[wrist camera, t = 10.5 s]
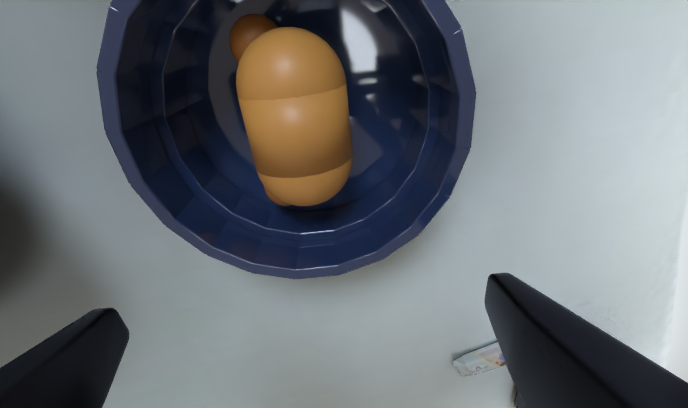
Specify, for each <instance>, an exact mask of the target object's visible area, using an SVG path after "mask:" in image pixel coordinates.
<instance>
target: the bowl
mask: <svg viewBox="0 0 688 408" xmlns="http://www.w3.org/2000/svg"><path fill="white" fill-rule="evenodd" d="M247 14H260V15H263V16H266V17H267V18H269V19H270V20H272V21H273V22H274V23H275V24H276V25H277V27H278V28H280V27H296V28H301V29H305V30H307V31H310V32H312V33H314V34H316V35H318V36H319V37H320V38H322V39H323V40H324V41H326V42H327V43H328V45H329V46H330V47H331V48H332V49H333V50H334V51H335V53H336V55H337V56H338V58H339V59H340V61H341V64H342V67H343V69H344V72H345V78H346V84H347V95H348V106H349V117H350V129H351V140H352V151H353V162H352V168H351V172H350V175H349V177H348V179H347V182H346V183H345V185H344V186H343V187H342V189H341V190H340V191H339V192H338V193H337V194H336V195H335V196H333V197H332V198H331V199H329V200H327V201H325V202H323V203H320V204H317V205H312V206H296V205H290V206H282V205H278V204H276V203H274V202H273V201H272V200H271V199H270V198H269V197H268V196H267V194H266V192H265V189H264V185H263V184H262V182H261V180H260V179H259V176H258V174H257V171H256V168H255V164H254V160H253V156H252V152H251V148H250V144H249V140H248V136H247V132H246V128H245V124H244V120H243V116H242V112H241V108H240V104H239V100H238V95H237V88H236V73H237V69H238V65H239V63H238V62H237V61H236V60H235V58H234V56H233V55H232V52H231V49H230V45H229V35H230V31H231V28H232V26H233V25H234V23H235V22H236V21H237V20H238V19H239V18H240V17H242V16H244V15H247ZM460 28H461V26H460V24H459V22H458V21H457V19H456V18H455V16H454V14H453V13H452V11H451V9H450V8H449V6H448V5H447V3H446V1H445V0H112V1H111V3H110V6H109V10H108V15H107V20H106V25H105V29H104V34H103V39H102V44H101V49H100V54H99V59H98V64H97V79H98V86H99V93H100V100H101V107H102V114H103V121H104V129H105V131H106V135H107V137H108V139H109V141H110V143H111V146H112V148H113V150H114V152H115V154H116V156H117V158H118V160H119V163H120V165H121V167H122V169H123V171H124V173H125V175H126V178H127V180H128V182H129V183H130V184H131V186H132V188H133V189H134V190H135V191H136V192H137V194H138V195H139V196H140V197H141V198H142V199H143V201H144V202H145V203H146V204H147V205H148V206H149V208H150V209H151V210H152V211H153V212H154V213H155V215H156V216H157V217H158V218H159V219H160V220H161V222H162V223H163V224H164V225H166V227H168V228H169V229H170V230H172V231H173V232H175V233H176V234H177V235H179V236H180V237H182V238H183V239H184V240H186V241H187V242H189V243H190V244H192V245H193V246H194V247H196V248H197V249H199V250H200V251H201V252H203V253H204V254H207V255H208V256H210V257H213V258H215V259H218V260H220V261H223V262H225V263H228V264H230V265H233V266H235V267H238V268H240V269H243V270H245V271H248V272H251V273H255V274H262V275H269V276H276V277H283V278H290V279H304V278H315V277H325V276H335V275H340V274H344V273H347V272H350V271H352V270H355V269H358V268H361V267H364V266H366V265H369V264H372V263H375V262H378V261H380V260H383V259H384V258H386V257H387V256H389V255H390V254H392V253H393V252H394V251H396V250H397V249H399V248H400V247H402V246H403V245H405V244H406V243H407V242H409V241H410V240H412V239H413V238H415V237H416V236H418V235H419V233H421V232H422V230H423V229H424V228H425V227H426V226H427V224H428V223H429V222H430V221H431V219H432V218H433V217H434V216H435V215H436V213H437V212H438V211H439V210H440V209H441V207H442V206H443V205H444V204H445V202H446V201H447V200H448V199H449V197H450V196H451V194H452V192H453V189H454V187H455V184H456V182H457V180H458V177H459V175H460V173H461V170H462V168H463V165H464V163H465V161H466V158H467V156H468V154H469V151H470V148H471V141H472V130H473V120H474V109H475V99H476V91H475V89H476V88H475V84H474V80H473V75H472V71H471V66H470V62H469V57H468V53H467V49H466V44H465V40H464V35H463V31H462V29H460Z"/></svg>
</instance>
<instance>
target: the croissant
mask: <svg viewBox="0 0 688 408" xmlns="http://www.w3.org/2000/svg"><path fill="white" fill-rule="evenodd" d="M229 45H230V49H231V52H232V55H233V56H234V58H235V60H236V61H237V62H238V63H239V65H238V69H237V73H236V88H237V95H238V100H239V104H240V108H241V112H242V116H243V120H244V124H245V128H246V132H247V136H248V140H249V144H250V148H251V152H252V156H253V160H254V164H255V168H256V171H257V174H258V176H259V179H260V180H261V182H262V184H263V185H264V189H265V192H266V194H267V196H268V197H269V198H270V199H271V200H272V201H273V202H274V203H276V204H278V205H282V206H290V205H296V206H312V205H317V204H320V203H323V202H325V201H327V200H329V199H331V198H332V197H333V196H335V195H336V194H337V193H338V192H339V191H340V190H341V189H342V187H343V186H344V185H345V183H346V182H347V179H348V177H349V175H350V172H351V168H352V162H353V151H352V140H351V129H350V117H349V106H348V95H347V84H346V78H345V72H344V69H343V67H342V64H341V61H340V59H339V58H338V56H337V55H336V53H335V51H334V50H333V49H332V48H331V47H330V46H329V45H328V43H327V42H326V41H324V40H323V39H322V38H320V37H319V36H318V35H316V34H314V33H312V32H310V31H307V30H305V29H301V28H296V27H280V28H278V27H277V25H276V24H275V23H274V22H273V21H272V20H270V19H269V18H267V17H266V16H263V15H260V14H247V15H244V16H242V17H240V18H239V19H238V20H237V21H236V22H235V23H234V25H233V26H232V28H231V31H230V35H229Z"/></svg>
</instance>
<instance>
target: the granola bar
mask: <svg viewBox="0 0 688 408" xmlns="http://www.w3.org/2000/svg"><path fill="white" fill-rule="evenodd" d="M452 364H453V365H454V367H455V368H457V369H458V370H459V373H460V374H461V375H462V376H467V375H471V376H474V375H477V374H480V373H483V372H486V371H489V370H492V369H495V368H498V367H501V366H504V365H506V363H505V360H504V357H503V354H502V352H501V349H500V346H499V344H498V342H497V343H494V344H491V345H489V346H486V347H483V348H480V349H478V350H475V351H472V352H470V353H467V354H465V355H462V356H461V357H460V358H459V359H456V360H454V361H452Z"/></svg>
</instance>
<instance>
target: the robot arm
mask: <svg viewBox="0 0 688 408" xmlns="http://www.w3.org/2000/svg"><path fill="white" fill-rule="evenodd" d="M485 307H486V311H487V313H488V316H489V319H490V322H491V324H492V327H493V330H494V333H495V335H496V338H497V341H498V344H499V346H500V349H501V352H502V354H503V357H504V360H505V363H506V365H507V368H508V370H509V373H510V375H511V377H512V379H513V382H514V384H515V386H516V388H517V390H518V392H517V396H516V399H515V403H514V405H515V407H516V408H688V383H687V382H685V381H684V380H682V379H680V378H679V377H677V376H675V375H674V374H672V373H671V372H669V371H667V370H666V369H664V368H663V367H661V366H659V365H658V364H656V363H654V362H653V361H651V360H649V359H648V358H646V357H645V356H643V355H641V354H640V353H638V352H636V351H635V350H633V349H632V348H630V347H628V346H627V345H625V344H623V343H622V342H620V341H619V340H617V339H615V338H614V337H612V336H610V335H609V334H607V333H606V332H604V331H602V330H601V329H599V328H597V327H596V326H594V325H593V324H591V323H589V322H588V321H586V320H584V319H583V318H581V317H580V316H578V315H576V314H575V313H573V312H571V311H570V310H568V309H567V308H565V307H563V306H562V305H560V304H558V303H557V302H555V301H554V300H552V299H550V298H549V297H547V296H545V295H544V294H542V293H541V292H539V291H537V290H536V289H534V288H532V287H531V286H529V285H527V284H526V283H524V282H523V281H521V280H519V279H518V278H516V277H514V276H513V275H511V274H509V273H496V274H491V275H490V276H489V277H488V282H487V288H486V295H485ZM128 340H129V330H128V328H127V327H126V325H125V323H124V322H123V320H122V318H121V317H120V315H119V313H118V312H117V311H116V310H115V309H114V308H100V309H95V310H92V311H90V312H89V313H87V314H86V315H84V316H82V317H81V318H79V319H78V320H76V321H74V322H73V323H71V324H70V325H68V326H66V327H65V328H63V329H62V330H60V331H59V332H57V333H55V334H54V335H52V336H51V337H49V338H47V339H46V340H44V341H43V342H41V343H39V344H38V345H36V346H35V347H33V348H31V349H30V350H28V351H27V352H25V353H23V354H22V355H20V356H19V357H17V358H16V359H14V360H12V361H11V362H9V363H8V364H6V365H4V366H3V367H1V368H0V408H102V407H103V404H104V402H105V400H106V397H107V395H108V392H109V390H110V387H111V384H112V382H113V379H114V377H115V374H116V371H117V369H118V366H119V364H120V361H121V359H122V356H123V353H124V351H125V348H126V346H127V343H128Z"/></svg>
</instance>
